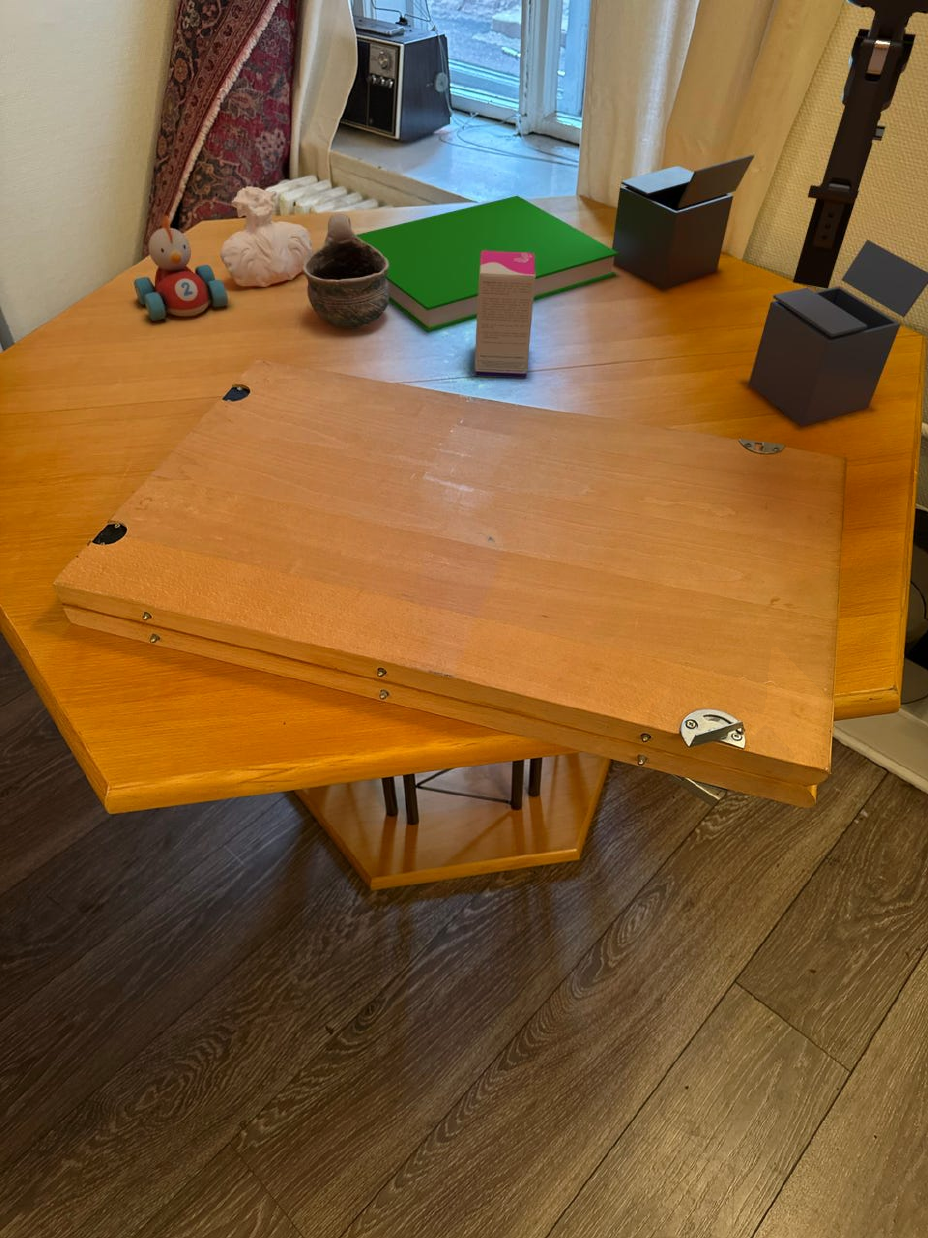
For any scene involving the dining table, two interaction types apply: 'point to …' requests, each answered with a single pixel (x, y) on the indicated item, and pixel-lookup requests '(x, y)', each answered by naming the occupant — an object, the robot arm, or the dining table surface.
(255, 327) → the dining table surface
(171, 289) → the toy car
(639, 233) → the back carton
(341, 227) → the mug
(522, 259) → the supplement box
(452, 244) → the book
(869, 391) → the front carton
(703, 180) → the back flap
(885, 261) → the front flap
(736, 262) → the dining table surface
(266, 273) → the bust
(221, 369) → the dining table surface
